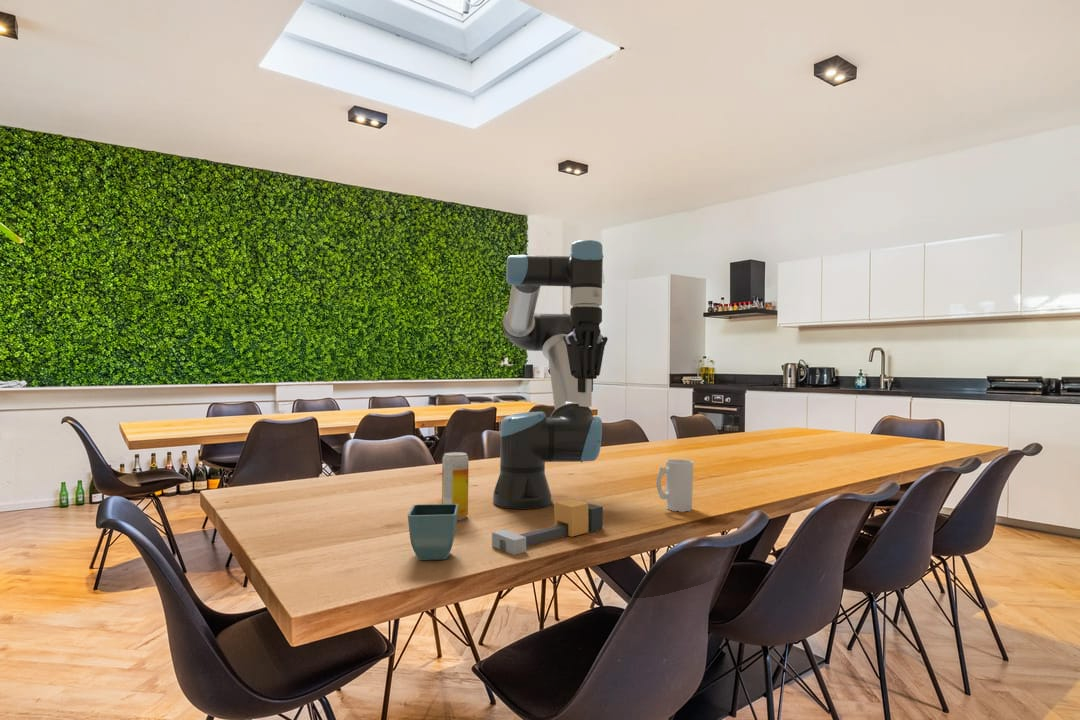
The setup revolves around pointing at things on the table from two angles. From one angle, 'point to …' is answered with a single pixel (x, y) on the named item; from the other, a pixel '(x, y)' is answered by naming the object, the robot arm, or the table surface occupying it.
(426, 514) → the flower pot
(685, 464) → the mug
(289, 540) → the table surface
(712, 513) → the table surface
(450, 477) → the beer can
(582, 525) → the sleeve
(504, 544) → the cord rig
